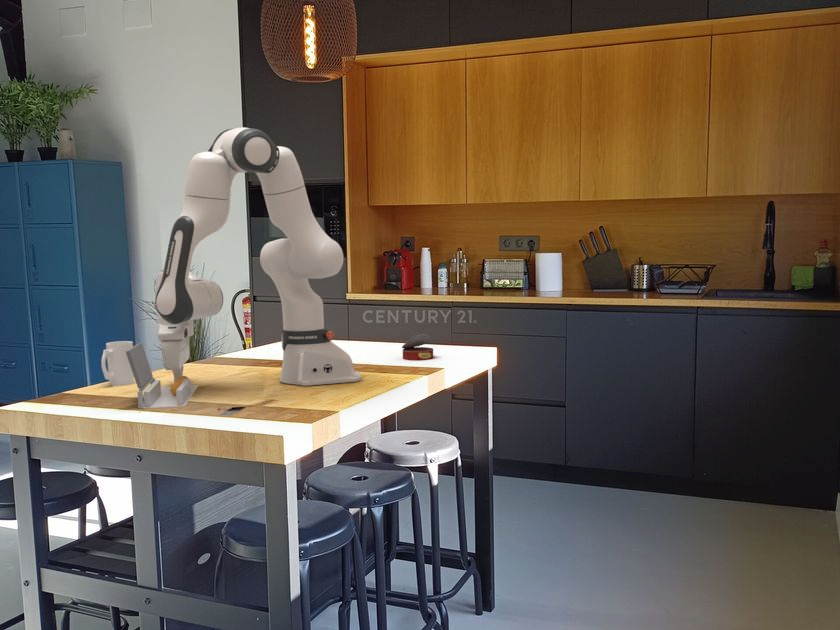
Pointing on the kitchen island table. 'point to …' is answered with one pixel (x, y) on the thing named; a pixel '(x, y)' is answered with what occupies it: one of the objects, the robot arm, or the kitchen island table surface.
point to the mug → (117, 363)
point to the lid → (140, 366)
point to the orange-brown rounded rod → (177, 384)
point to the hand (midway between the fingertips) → (178, 381)
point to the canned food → (417, 348)
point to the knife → (233, 410)
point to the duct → (165, 395)
